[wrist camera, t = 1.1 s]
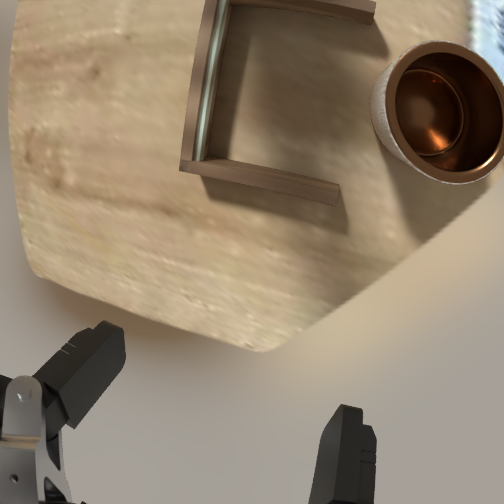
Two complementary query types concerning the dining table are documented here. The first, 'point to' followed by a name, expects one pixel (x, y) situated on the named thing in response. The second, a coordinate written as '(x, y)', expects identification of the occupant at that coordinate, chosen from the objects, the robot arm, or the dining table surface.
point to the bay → (205, 88)
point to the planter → (441, 112)
